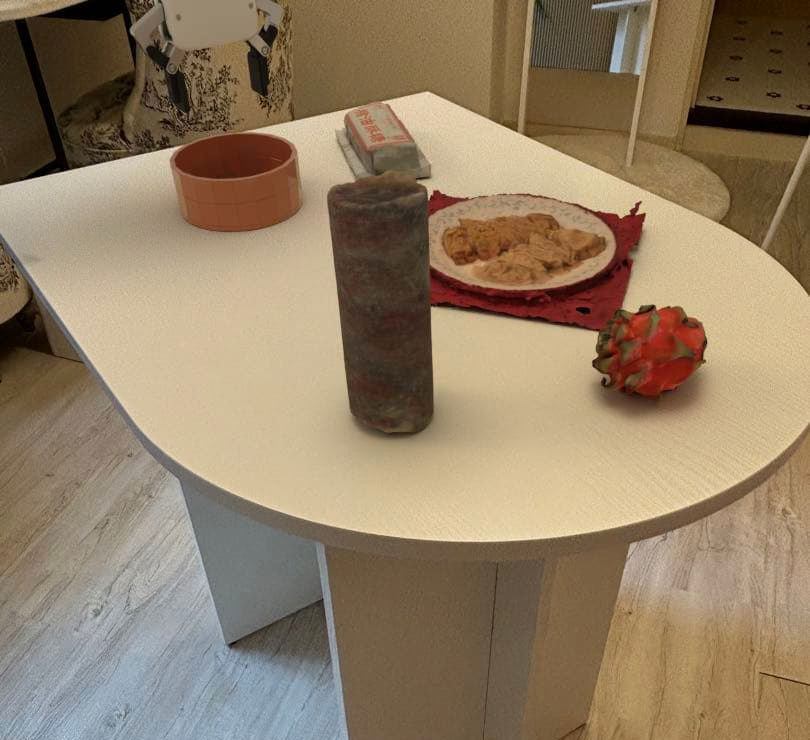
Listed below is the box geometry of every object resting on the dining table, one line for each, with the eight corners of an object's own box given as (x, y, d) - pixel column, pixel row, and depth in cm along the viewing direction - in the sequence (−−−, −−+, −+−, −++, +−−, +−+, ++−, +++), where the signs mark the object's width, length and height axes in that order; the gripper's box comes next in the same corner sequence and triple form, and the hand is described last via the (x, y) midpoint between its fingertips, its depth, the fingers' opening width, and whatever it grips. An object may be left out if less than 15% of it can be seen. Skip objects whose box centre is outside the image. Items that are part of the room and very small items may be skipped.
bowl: (155, 211, 100) (143, 161, 95) (242, 171, 108) (235, 123, 103) (241, 243, 93) (231, 191, 89) (326, 198, 101) (322, 148, 97)
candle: (348, 443, 67) (326, 207, 53) (345, 391, 72) (325, 164, 58) (438, 436, 67) (440, 201, 53) (429, 386, 72) (429, 158, 58)
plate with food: (434, 205, 100) (434, 177, 97) (644, 225, 93) (649, 195, 91) (369, 301, 84) (366, 270, 82) (614, 332, 78) (619, 301, 75)
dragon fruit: (574, 415, 72) (675, 395, 76) (638, 409, 64) (747, 387, 69) (562, 318, 70) (666, 304, 75) (626, 301, 62) (738, 286, 67)
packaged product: (433, 139, 101) (356, 148, 100) (433, 178, 105) (359, 187, 103) (400, 94, 113) (331, 101, 112) (401, 130, 117) (334, 138, 115)
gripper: (254, -99, 85) (274, 79, 97) (95, -82, 78) (138, 106, 91) (286, -90, 80) (303, 95, 93) (120, -71, 74) (162, 126, 86)
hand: (222, 101), depth 92 cm, fingers open, 9 cm apart
